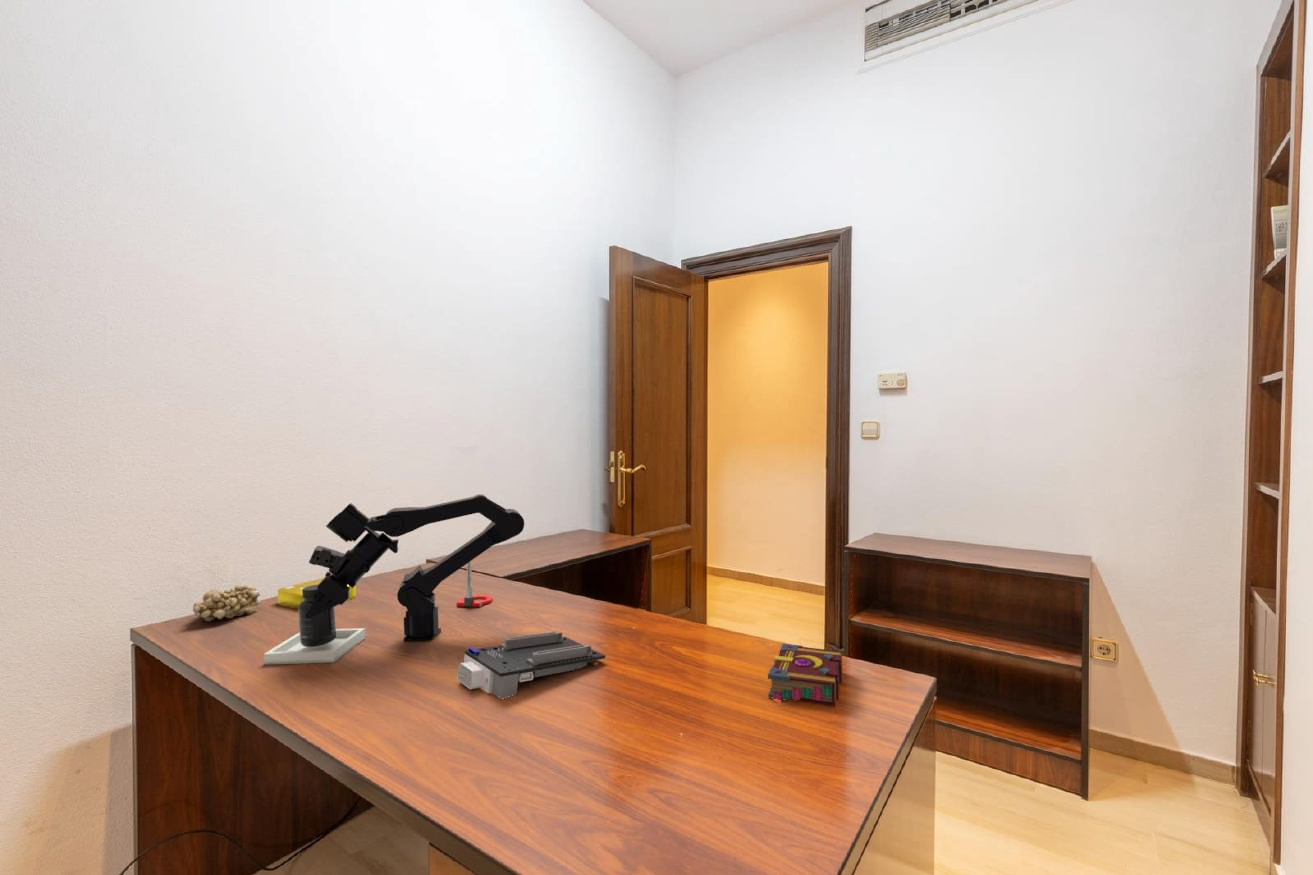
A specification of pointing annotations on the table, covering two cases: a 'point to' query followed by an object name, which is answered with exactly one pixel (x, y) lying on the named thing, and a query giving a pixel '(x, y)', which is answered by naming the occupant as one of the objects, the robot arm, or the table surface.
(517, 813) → the table surface
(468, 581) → the tow hook
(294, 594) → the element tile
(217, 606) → the mineral formation
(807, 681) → the decorative book
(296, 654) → the ceramic tray
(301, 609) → the supplement bottle
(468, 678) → the circuit board
